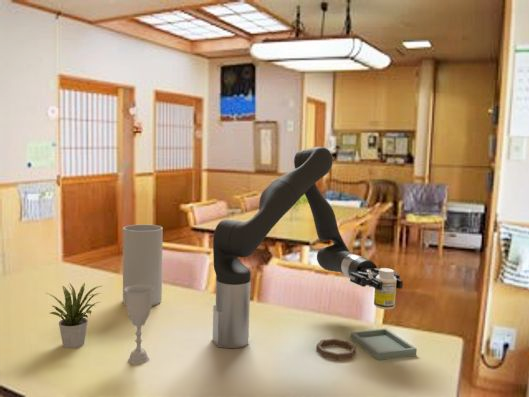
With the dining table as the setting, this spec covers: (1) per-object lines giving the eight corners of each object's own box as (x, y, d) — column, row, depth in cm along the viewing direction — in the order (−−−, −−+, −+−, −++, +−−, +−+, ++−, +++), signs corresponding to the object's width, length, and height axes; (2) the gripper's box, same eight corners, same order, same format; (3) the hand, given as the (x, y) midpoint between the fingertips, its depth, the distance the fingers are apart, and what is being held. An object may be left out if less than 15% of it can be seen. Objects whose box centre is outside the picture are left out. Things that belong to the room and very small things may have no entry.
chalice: (145, 367, 117) (145, 294, 115) (118, 364, 118) (118, 291, 116) (157, 355, 124) (158, 285, 122) (132, 352, 126) (133, 283, 123)
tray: (377, 360, 126) (378, 353, 126) (350, 338, 140) (350, 332, 140) (416, 355, 130) (416, 348, 130) (385, 334, 144) (385, 328, 143)
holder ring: (327, 361, 124) (328, 355, 124) (311, 346, 133) (312, 340, 133) (361, 357, 127) (361, 351, 127) (343, 342, 136) (343, 337, 136)
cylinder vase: (169, 300, 166) (170, 227, 163) (141, 310, 156) (142, 232, 153) (143, 293, 173) (143, 223, 170) (114, 302, 162) (114, 227, 159)
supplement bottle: (379, 301, 138) (382, 266, 137) (398, 306, 134) (400, 270, 133) (369, 306, 134) (372, 269, 132) (388, 311, 130) (391, 273, 129)
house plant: (118, 339, 133) (118, 280, 131) (83, 359, 120) (83, 294, 118) (74, 330, 138) (74, 273, 136) (37, 349, 125) (36, 287, 123)
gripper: (337, 257, 144) (368, 273, 128) (380, 255, 148) (415, 270, 133) (336, 282, 144) (366, 301, 129) (378, 280, 149) (413, 297, 134)
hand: (391, 285), depth 131 cm, fingers closed on supplement bottle, 5 cm apart
